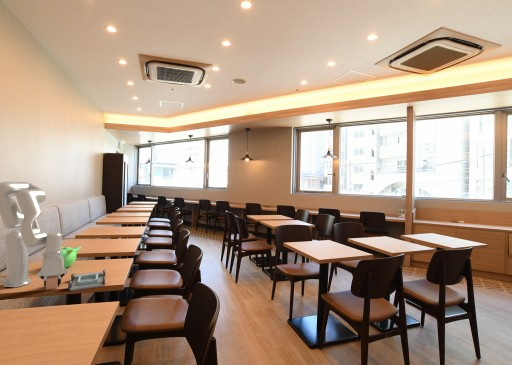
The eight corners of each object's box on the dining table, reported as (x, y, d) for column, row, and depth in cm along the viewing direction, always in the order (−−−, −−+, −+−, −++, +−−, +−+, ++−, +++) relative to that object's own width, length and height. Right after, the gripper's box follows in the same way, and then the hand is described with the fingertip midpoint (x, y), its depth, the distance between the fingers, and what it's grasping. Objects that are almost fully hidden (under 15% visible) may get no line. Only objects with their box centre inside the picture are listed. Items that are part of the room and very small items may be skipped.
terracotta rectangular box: (45, 289, 151) (46, 279, 151) (48, 285, 157) (48, 274, 157) (56, 288, 154) (57, 277, 154) (58, 283, 160) (59, 273, 160)
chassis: (67, 291, 150) (67, 283, 150) (72, 278, 169) (72, 271, 168) (104, 286, 159) (105, 278, 158) (105, 274, 177) (105, 268, 177)
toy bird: (54, 264, 196) (54, 243, 196) (81, 262, 201) (81, 242, 201) (43, 272, 179) (43, 250, 179) (73, 270, 184) (73, 248, 184)
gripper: (32, 257, 148) (31, 291, 148) (70, 254, 156) (69, 286, 156) (36, 254, 155) (35, 286, 155) (72, 251, 163) (71, 281, 163)
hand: (52, 285), depth 156 cm, fingers closed on terracotta rectangular box, 5 cm apart
